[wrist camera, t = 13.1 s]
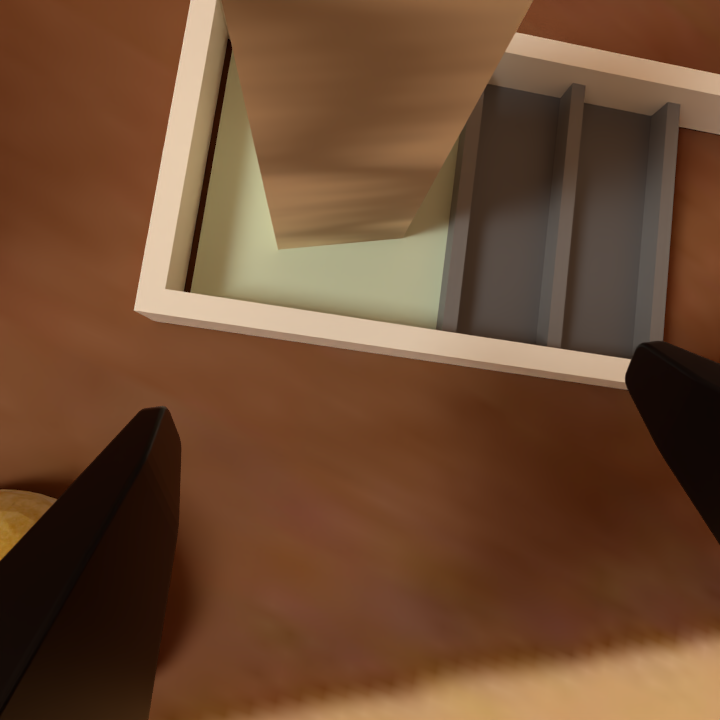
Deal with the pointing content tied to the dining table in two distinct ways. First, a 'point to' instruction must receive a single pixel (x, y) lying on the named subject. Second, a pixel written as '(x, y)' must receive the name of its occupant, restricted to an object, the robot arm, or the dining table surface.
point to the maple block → (360, 104)
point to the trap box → (447, 220)
